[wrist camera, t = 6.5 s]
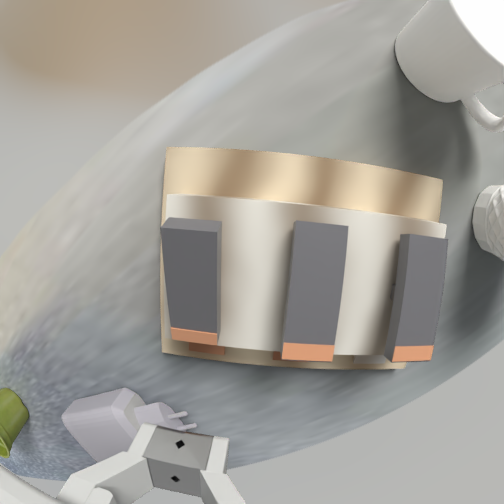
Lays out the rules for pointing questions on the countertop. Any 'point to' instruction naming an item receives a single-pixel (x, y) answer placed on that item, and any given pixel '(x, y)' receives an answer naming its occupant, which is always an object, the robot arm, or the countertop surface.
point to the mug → (455, 53)
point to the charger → (116, 421)
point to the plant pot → (10, 419)
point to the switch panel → (292, 188)
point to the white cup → (490, 220)
